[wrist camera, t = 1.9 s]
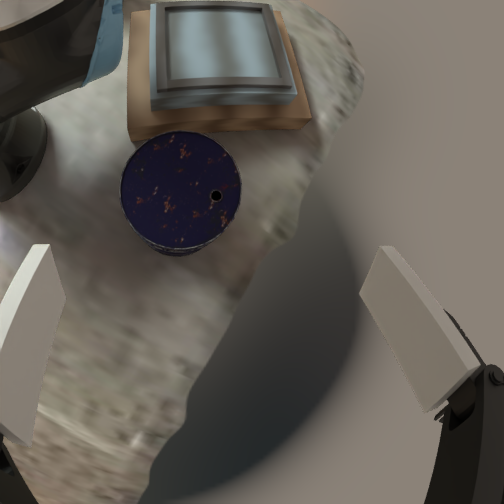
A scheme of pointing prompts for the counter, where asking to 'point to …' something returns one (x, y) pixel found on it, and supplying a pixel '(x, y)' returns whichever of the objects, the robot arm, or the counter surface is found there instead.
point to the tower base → (202, 115)
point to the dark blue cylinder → (180, 191)
